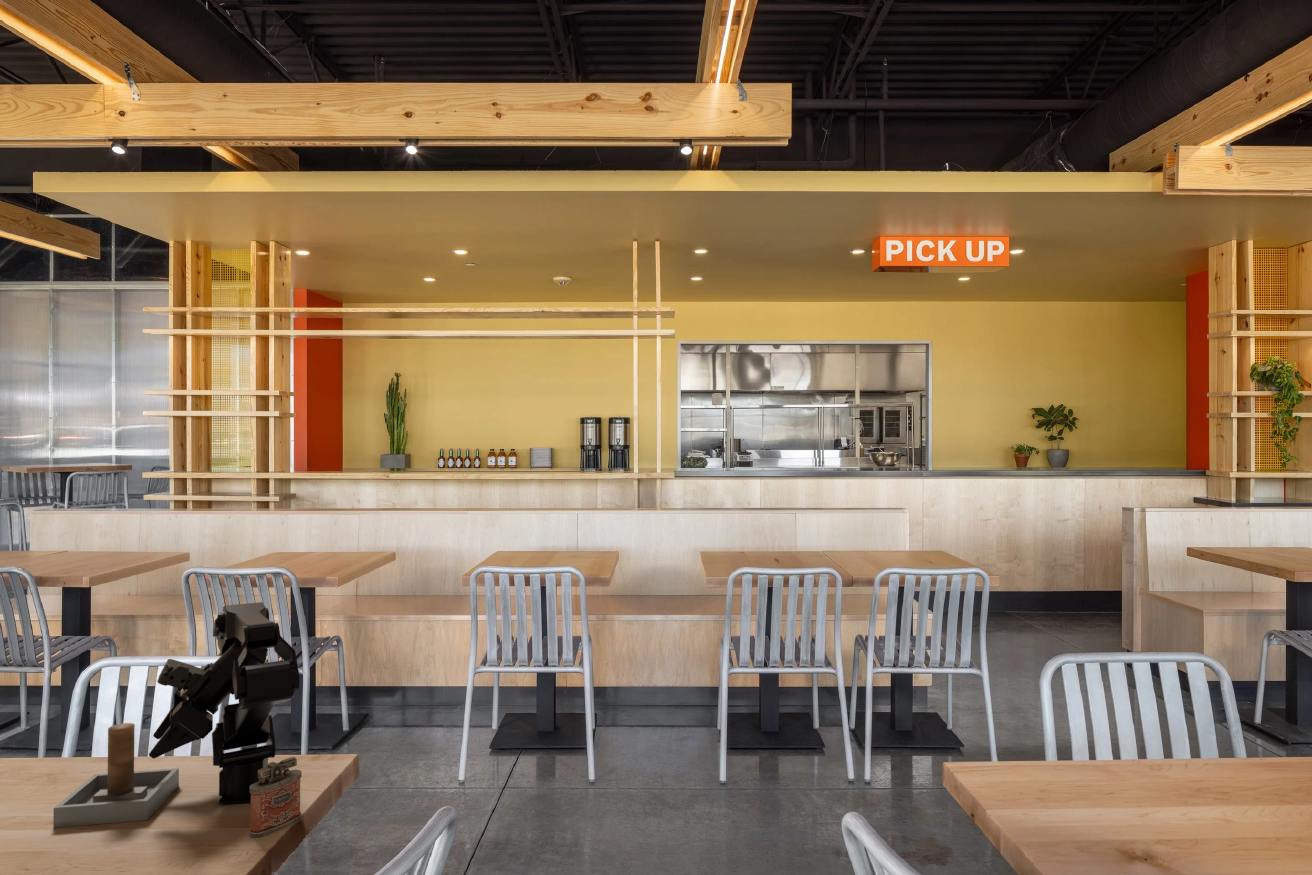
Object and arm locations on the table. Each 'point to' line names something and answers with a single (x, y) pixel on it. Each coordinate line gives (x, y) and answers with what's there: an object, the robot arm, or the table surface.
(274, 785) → the lighter
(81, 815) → the tray
